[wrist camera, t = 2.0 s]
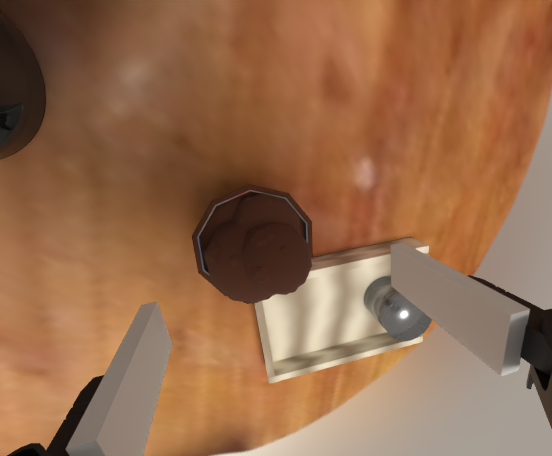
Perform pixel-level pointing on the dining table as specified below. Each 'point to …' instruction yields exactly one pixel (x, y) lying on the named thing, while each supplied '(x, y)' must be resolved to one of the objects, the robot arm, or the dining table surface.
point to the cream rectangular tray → (328, 314)
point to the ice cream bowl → (254, 244)
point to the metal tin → (395, 311)
